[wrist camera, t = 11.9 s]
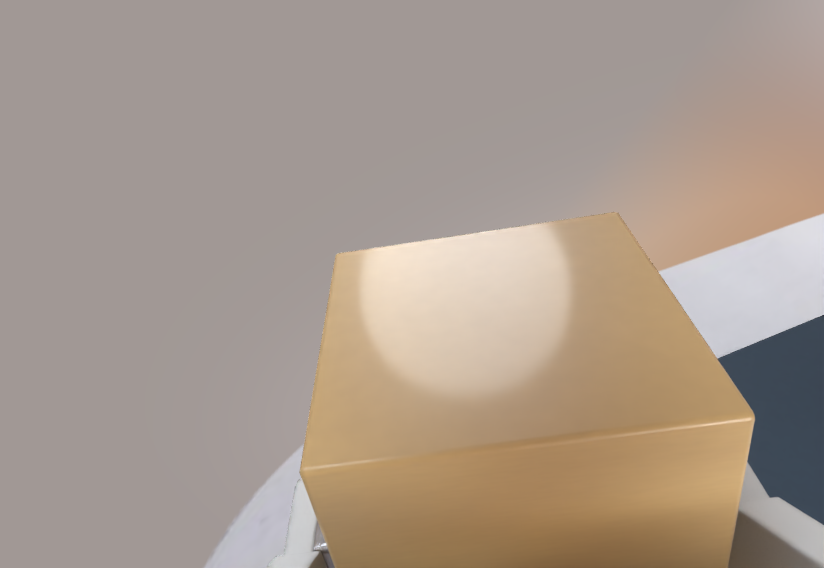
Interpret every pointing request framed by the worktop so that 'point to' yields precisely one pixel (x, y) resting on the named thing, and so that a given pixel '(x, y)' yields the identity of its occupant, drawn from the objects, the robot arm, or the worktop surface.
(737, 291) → the worktop surface
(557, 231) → the brass rectangular block
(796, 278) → the worktop surface
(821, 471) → the pattern mat
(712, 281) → the worktop surface
